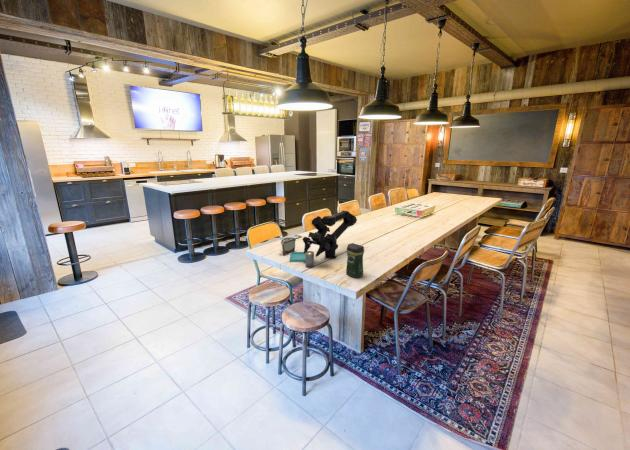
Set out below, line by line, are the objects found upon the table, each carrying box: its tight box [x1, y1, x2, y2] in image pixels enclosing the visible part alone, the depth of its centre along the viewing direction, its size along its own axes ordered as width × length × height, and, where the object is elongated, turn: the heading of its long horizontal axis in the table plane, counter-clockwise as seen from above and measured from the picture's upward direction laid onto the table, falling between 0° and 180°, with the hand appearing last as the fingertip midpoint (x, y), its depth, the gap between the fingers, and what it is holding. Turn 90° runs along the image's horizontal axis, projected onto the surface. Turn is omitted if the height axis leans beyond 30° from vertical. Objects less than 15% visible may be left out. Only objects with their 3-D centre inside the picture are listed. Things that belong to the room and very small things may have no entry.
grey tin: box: [305, 250, 315, 269], centre depth 181 cm, size 5×5×9 cm
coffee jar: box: [345, 242, 365, 278], centre depth 168 cm, size 10×8×19 cm
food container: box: [280, 236, 297, 256], centre depth 204 cm, size 12×6×10 cm, turn 141°
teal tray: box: [289, 251, 306, 263], centre depth 196 cm, size 14×14×2 cm
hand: (309, 254), depth 181 cm, fingers open, 9 cm apart
